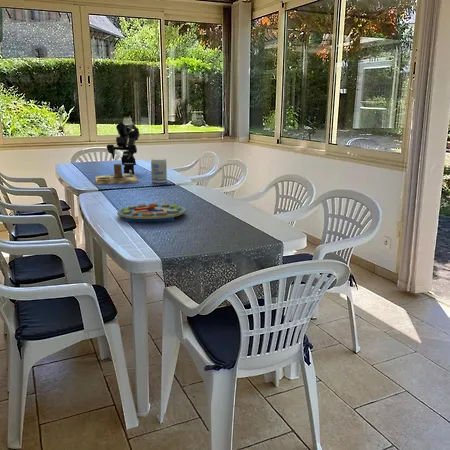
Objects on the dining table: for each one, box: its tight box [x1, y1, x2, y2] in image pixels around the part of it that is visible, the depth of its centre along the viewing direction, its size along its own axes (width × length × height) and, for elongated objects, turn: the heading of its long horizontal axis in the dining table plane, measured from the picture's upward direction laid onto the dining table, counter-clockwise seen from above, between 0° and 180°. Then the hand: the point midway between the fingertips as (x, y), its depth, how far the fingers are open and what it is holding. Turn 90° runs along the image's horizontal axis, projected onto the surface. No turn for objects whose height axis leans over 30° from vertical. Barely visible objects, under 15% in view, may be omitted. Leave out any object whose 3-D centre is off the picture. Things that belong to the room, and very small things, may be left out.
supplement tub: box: [150, 157, 168, 184], centre depth 279 cm, size 10×10×15 cm
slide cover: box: [122, 170, 134, 176], centre depth 292 cm, size 7×7×3 cm
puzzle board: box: [95, 174, 139, 186], centre depth 285 cm, size 26×22×3 cm
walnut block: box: [113, 163, 123, 178], centre depth 279 cm, size 4×4×10 cm
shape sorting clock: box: [116, 202, 186, 223], centre depth 201 cm, size 31×30×6 cm
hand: (120, 159), depth 285 cm, fingers open, 9 cm apart
